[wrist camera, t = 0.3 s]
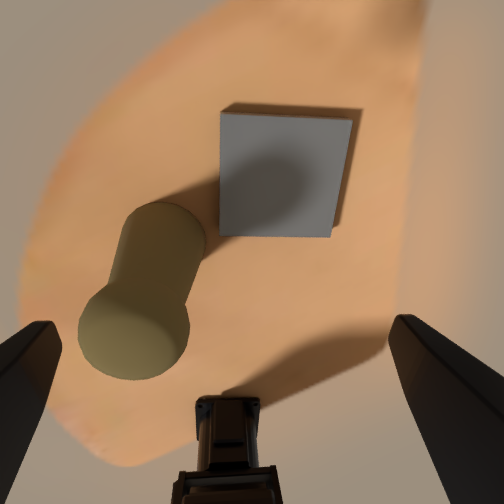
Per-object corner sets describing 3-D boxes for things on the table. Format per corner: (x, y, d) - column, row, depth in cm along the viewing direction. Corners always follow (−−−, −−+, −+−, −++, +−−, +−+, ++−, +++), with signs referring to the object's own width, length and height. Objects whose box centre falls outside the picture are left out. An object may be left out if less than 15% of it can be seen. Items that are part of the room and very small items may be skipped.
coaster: (326, 231, 25) (330, 237, 24) (219, 229, 24) (219, 235, 24) (347, 117, 21) (352, 120, 20) (220, 111, 20) (220, 114, 20)
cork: (207, 204, 23) (196, 305, 14) (205, 276, 26) (195, 399, 17) (117, 199, 23) (42, 300, 13) (125, 273, 26) (68, 400, 16)
